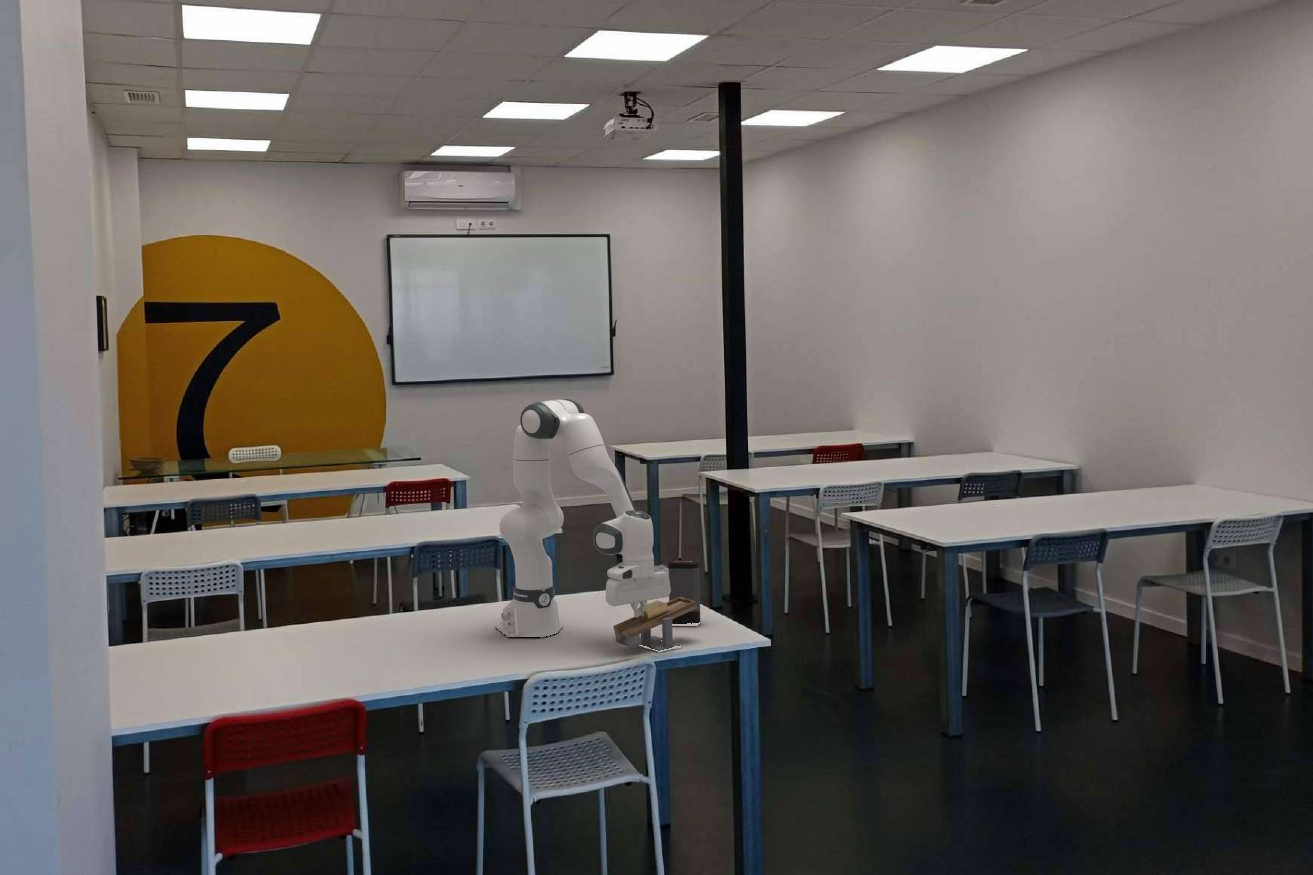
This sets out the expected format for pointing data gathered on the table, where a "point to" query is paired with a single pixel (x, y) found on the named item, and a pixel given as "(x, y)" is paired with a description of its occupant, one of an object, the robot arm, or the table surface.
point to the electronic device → (685, 587)
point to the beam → (650, 622)
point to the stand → (656, 641)
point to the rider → (654, 611)
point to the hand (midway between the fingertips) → (639, 616)
